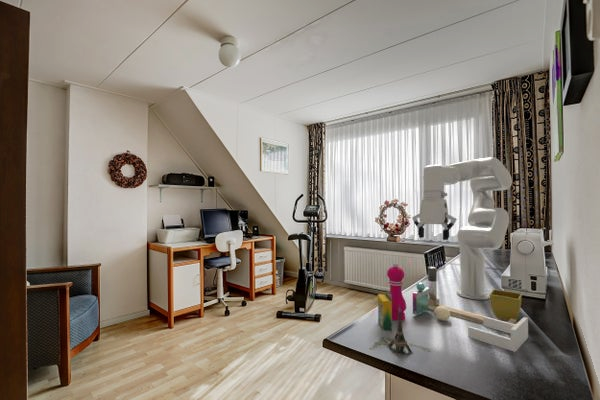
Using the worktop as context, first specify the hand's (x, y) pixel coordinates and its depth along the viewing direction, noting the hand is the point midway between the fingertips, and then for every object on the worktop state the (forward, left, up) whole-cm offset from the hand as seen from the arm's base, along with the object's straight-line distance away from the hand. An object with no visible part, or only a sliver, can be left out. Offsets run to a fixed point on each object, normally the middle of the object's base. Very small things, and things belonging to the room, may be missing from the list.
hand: (433, 238), depth 114 cm
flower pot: (-10, +22, -28) cm, 37 cm away
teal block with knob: (+6, 0, -27) cm, 28 cm away
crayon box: (+30, -2, -28) cm, 41 cm away
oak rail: (0, +11, -28) cm, 30 cm away
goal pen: (+10, +24, -28) cm, 38 cm away
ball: (+10, +8, -25) cm, 28 cm away
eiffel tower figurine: (+40, +10, -29) cm, 50 cm away
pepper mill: (+20, -4, -28) cm, 35 cm away
